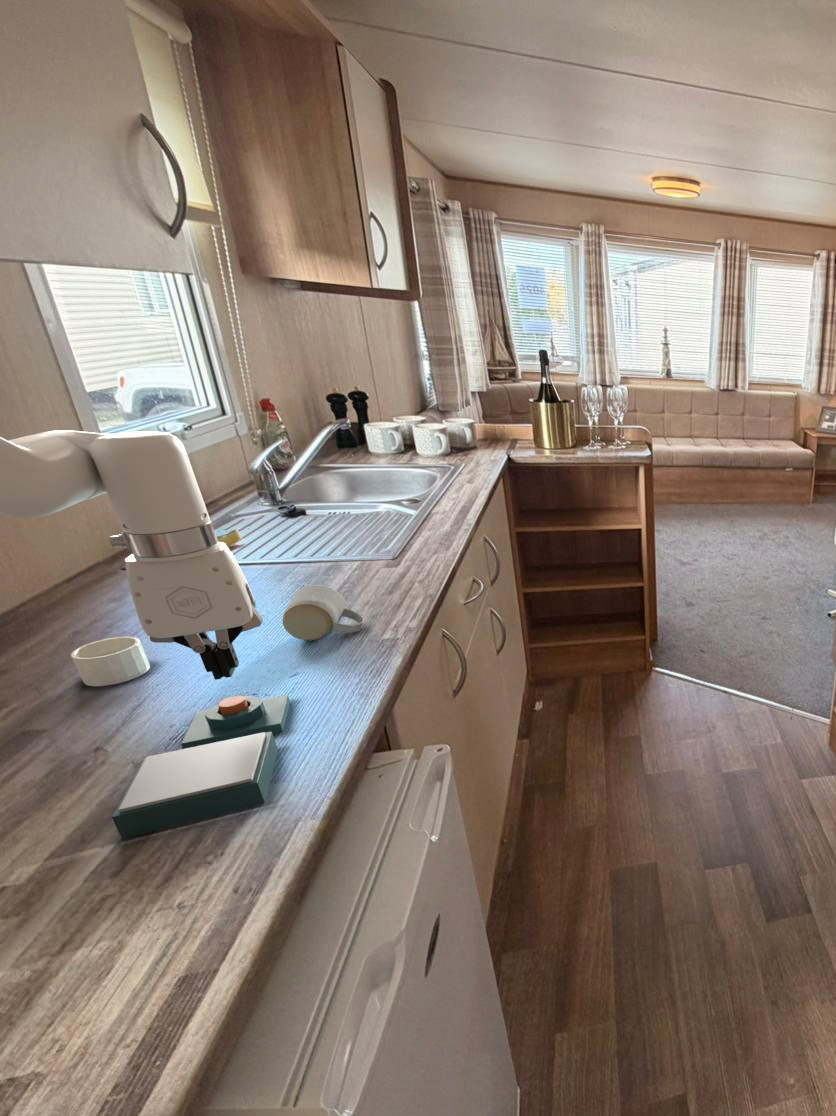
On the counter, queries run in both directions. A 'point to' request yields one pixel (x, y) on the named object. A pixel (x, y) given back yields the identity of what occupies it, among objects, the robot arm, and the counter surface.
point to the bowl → (110, 661)
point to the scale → (197, 784)
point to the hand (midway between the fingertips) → (225, 673)
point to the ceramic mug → (318, 613)
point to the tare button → (232, 705)
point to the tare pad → (237, 721)
